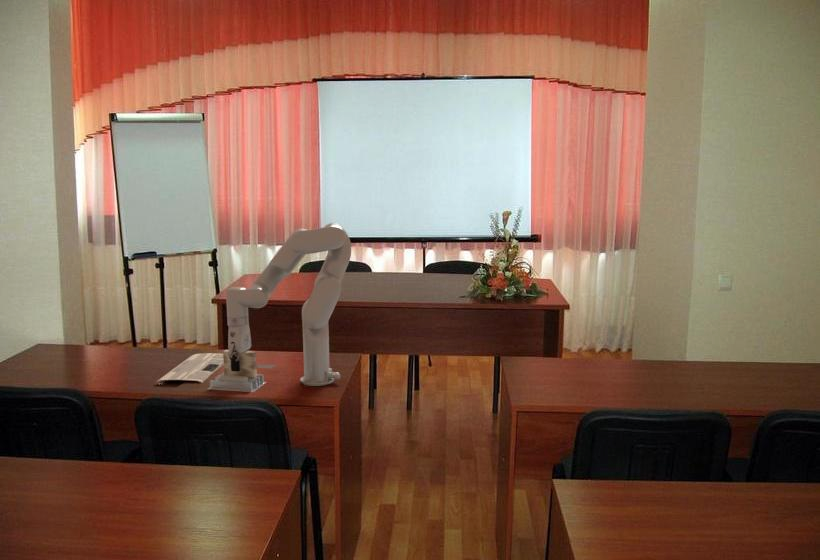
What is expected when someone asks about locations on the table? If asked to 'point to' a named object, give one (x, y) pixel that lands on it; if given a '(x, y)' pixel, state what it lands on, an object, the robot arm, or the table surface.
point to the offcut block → (233, 378)
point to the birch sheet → (241, 364)
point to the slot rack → (238, 384)
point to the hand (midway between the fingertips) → (240, 367)
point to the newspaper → (195, 368)
